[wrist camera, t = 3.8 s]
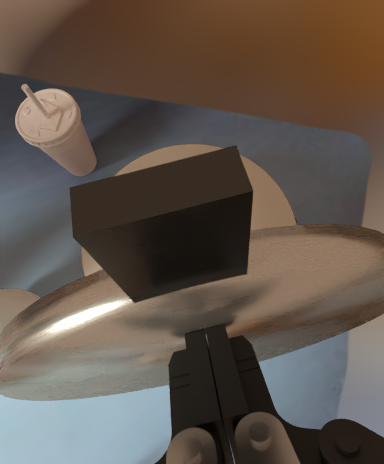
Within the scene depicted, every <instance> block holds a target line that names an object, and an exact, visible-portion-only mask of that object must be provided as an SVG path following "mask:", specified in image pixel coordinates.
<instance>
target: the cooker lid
mask: <svg viewBox="0 0 384 464" xmlns="http://www.w3.org/2000/svg"><path fill="white" fill-rule="evenodd" d="M70 198H71V213H72V227H73V237H74V238H75V240H76V241H77V242H78V243H79V244H80V245H81V246H82V247H83V248H84V249H85V250H86V251H87V252H88V253H89V255H90V256H91V257H92V258H93V259H94V260H95V261H96V262H97V263H98V264H99V265H100V266H101V267H102V270H99V271H97V272H95V273H92V274H90V275H88V276H85V277H83V278H81V279H79V280H76V281H74V282H72V283H69V284H67V285H65V286H63V287H61V288H59V289H57V290H56V291H54V292H52V293H50V294H48V295H46V296H44V297H43V298H41V299H39V300H37V301H36V302H34V303H33V304H31V305H30V306H29V307H27V308H26V309H24V310H23V311H21V312H20V313H19V314H17V315H16V316H15V317H14V318H13V319H12V320H11V321H10V322H9V323H8V324H7V325H6V326H5V327H4V329H3V330H2V332H1V334H0V394H2V395H4V396H6V397H9V398H14V399H20V400H31V401H53V400H70V399H81V398H91V397H99V396H107V395H113V394H120V393H126V392H132V391H138V390H144V389H149V388H154V387H159V386H164V385H169V367H168V364H169V362H170V359H171V357H172V354H173V352H175V351H179V350H183V349H186V344H185V334H186V333H190V332H194V331H198V330H202V329H204V331H205V335H206V328H210V327H214V326H218V325H222V324H225V327H226V331H227V335H228V338H232V337H236V336H240V335H243V336H244V337H245V338H246V339H247V340H248V341H249V342H250V343H251V344H252V346H253V349H254V352H255V354H256V358H257V360H258V362H260V361H264V360H267V359H270V358H273V357H277V356H280V355H283V354H286V353H289V352H292V351H295V350H298V349H301V348H304V347H307V346H310V345H312V344H315V343H318V342H321V341H323V340H326V339H329V338H331V337H334V336H336V335H339V334H341V333H344V332H346V331H349V330H351V329H353V328H355V327H358V326H360V325H362V324H364V323H366V322H368V321H371V320H373V319H375V318H376V317H378V316H380V315H382V314H384V234H383V233H381V232H379V231H376V230H372V229H368V228H364V227H360V226H349V225H338V224H307V225H292V226H282V227H271V228H262V229H256V230H251V217H252V204H253V188H252V186H251V183H250V180H249V178H248V175H247V173H246V170H245V167H244V165H243V162H242V160H241V157H240V154H239V152H238V149H237V146H232V147H228V148H224V149H220V150H216V151H212V152H208V153H204V154H200V155H196V156H192V157H188V158H185V159H181V160H177V161H173V162H169V163H165V164H161V165H157V166H153V167H149V168H145V169H141V170H138V171H134V172H130V173H126V174H122V175H118V176H114V177H110V178H106V179H102V180H98V181H94V182H90V183H87V184H83V185H79V186H75V187H71V188H70ZM206 338H207V335H206ZM207 342H208V340H207ZM208 346H209V345H208Z"/></svg>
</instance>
